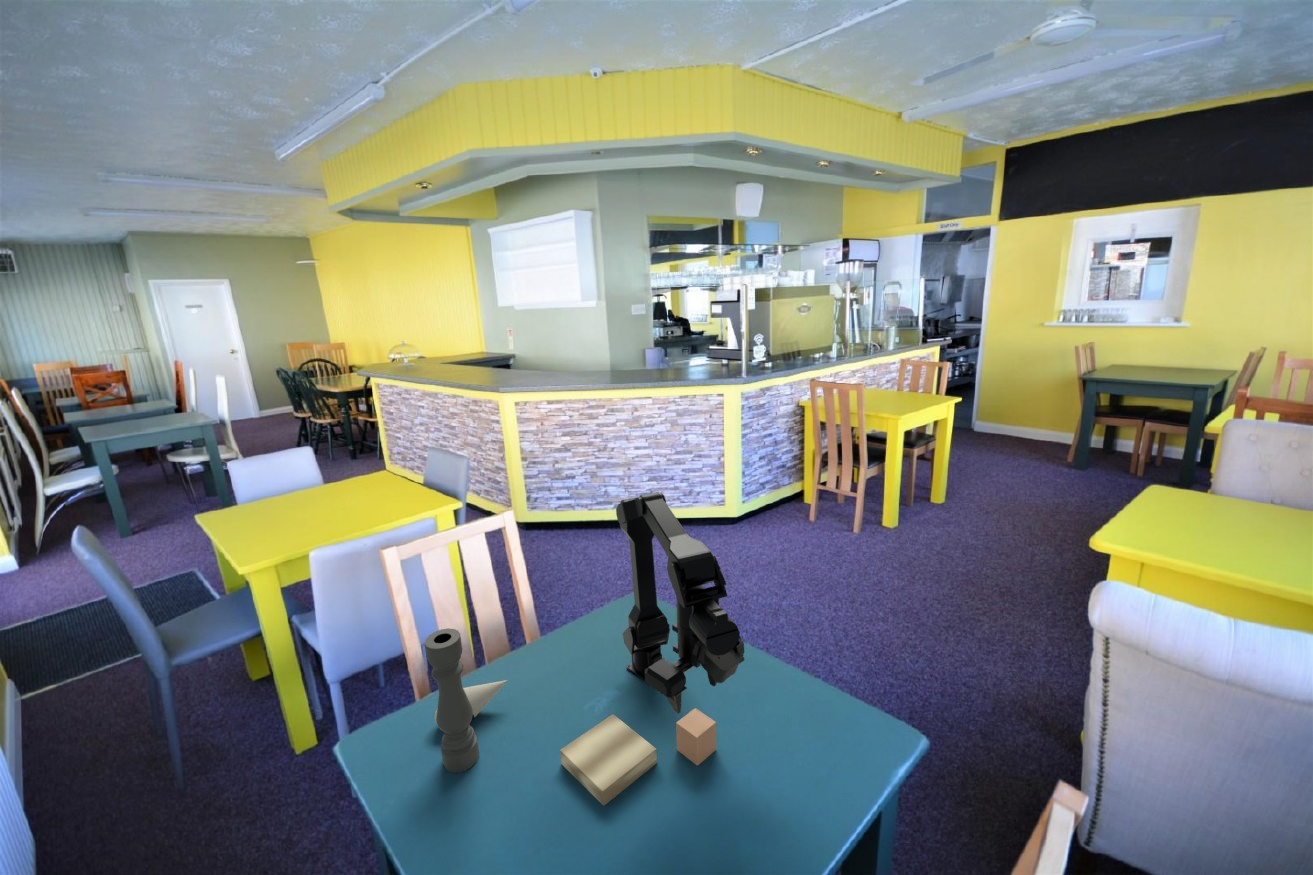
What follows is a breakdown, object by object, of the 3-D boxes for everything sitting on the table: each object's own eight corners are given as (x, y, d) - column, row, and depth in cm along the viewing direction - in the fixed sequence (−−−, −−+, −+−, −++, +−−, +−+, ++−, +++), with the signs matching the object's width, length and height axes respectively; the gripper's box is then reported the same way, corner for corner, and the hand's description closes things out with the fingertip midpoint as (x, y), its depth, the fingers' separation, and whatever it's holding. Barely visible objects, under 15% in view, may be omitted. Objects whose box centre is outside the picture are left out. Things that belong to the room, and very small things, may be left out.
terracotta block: (677, 750, 104) (676, 722, 102) (695, 734, 107) (695, 707, 105) (697, 765, 100) (696, 737, 98) (716, 749, 103) (715, 722, 102)
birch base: (561, 763, 102) (560, 749, 101) (613, 726, 109) (612, 713, 109) (603, 805, 93) (602, 791, 92) (657, 762, 101) (656, 748, 100)
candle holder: (486, 757, 104) (468, 636, 97) (454, 778, 99) (433, 654, 93) (468, 739, 108) (450, 623, 101) (437, 759, 103) (416, 639, 97)
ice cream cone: (514, 697, 118) (442, 739, 111) (502, 670, 121) (430, 710, 114) (515, 689, 113) (440, 733, 106) (502, 662, 116) (427, 703, 109)
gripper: (691, 668, 85) (693, 754, 89) (766, 615, 97) (765, 693, 101) (640, 637, 92) (644, 717, 97) (716, 592, 105) (716, 665, 109)
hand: (695, 698), depth 101 cm, fingers open, 9 cm apart
